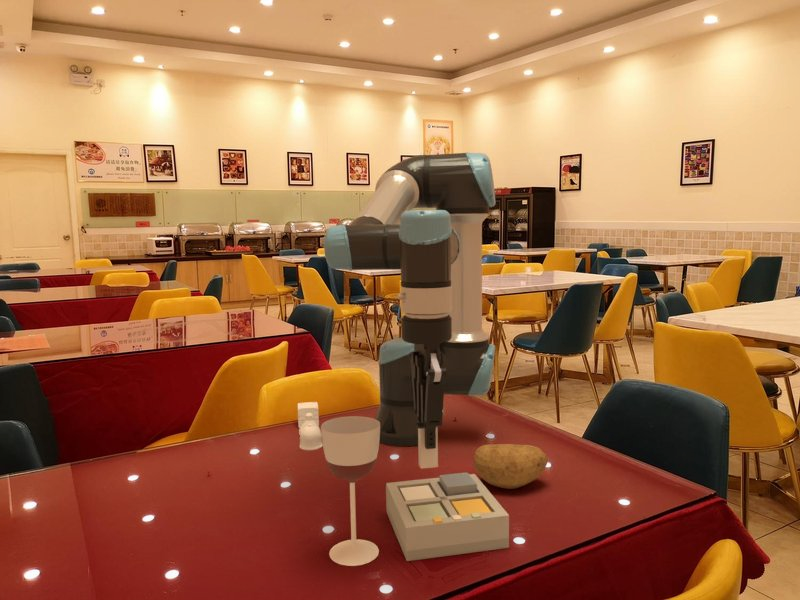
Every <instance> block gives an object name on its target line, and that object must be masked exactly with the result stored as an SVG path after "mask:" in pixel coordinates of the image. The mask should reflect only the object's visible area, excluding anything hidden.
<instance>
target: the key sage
mask: <svg viewBox="0 0 800 600" xmlns="http://www.w3.org/2000/svg"><path fill="white" fill-rule="evenodd" d="M409 512H410V514H411V516H412V518H413V520H414V521H421V520H430V519H433V518H436V517H441V518H447V517H448V516H447V515H446V513H445V512H444V510H443V508H442V507H441V505H440V503H436V504H427V505H418V506H410V507H409Z"/></svg>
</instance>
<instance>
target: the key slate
mask: <svg viewBox="0 0 800 600" xmlns="http://www.w3.org/2000/svg"><path fill="white" fill-rule="evenodd" d="M469 474H470V473H468V472H467V471H466V472H456V473H448V474H439V477H440V488H441V489H442V491H443V492H444V494H445V495H446V496H452V495H461V494H470V493H477V484H476V482H475V481H474V480H473V479H472V478H471V476H470V475H469ZM439 477H438V478H439Z"/></svg>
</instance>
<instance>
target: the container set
mask: <svg viewBox="0 0 800 600" xmlns="http://www.w3.org/2000/svg"><path fill="white" fill-rule="evenodd" d="M318 404H319V403H318V402H317V401H310V402H309V401H308V402H306V401H305V402H298V403H297V424H298V428H299V429H298V436H299V435H300V437H299V449H301V450H304V451H314V450H319V449H320V448H323V442H322V433H321V427H319V426H320V418H319V417H320V416H319V405H318Z"/></svg>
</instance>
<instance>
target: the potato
mask: <svg viewBox="0 0 800 600" xmlns="http://www.w3.org/2000/svg"><path fill="white" fill-rule="evenodd" d="M548 459H549V458H548V456H547V454H546V453H545V452H544V451H543V450H542V449H541V448H540V447H538V446H534V445H529V444H517V443H516V444H513V443H501V444H498V443H497V444H484V445H481V446H479V447H478V448H477V449H476V450H475V453H474V456H473V468H474V469H475V471H476V472H477V474H478V476H480V477H481V478H482V479H483V480H484V481H485V482H486V483H488V484H490V485H491V486H494V487H497V488H502V489H512V490H514V489H518V488H521V487H524V486H526V485H528V484H530V483H532V482H534V481H535V480H536V479H538V478H539V477H540V476H541V475H542V474H543V473H544V472H545V470H546V467H547V465H548V462H549V460H548Z"/></svg>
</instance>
